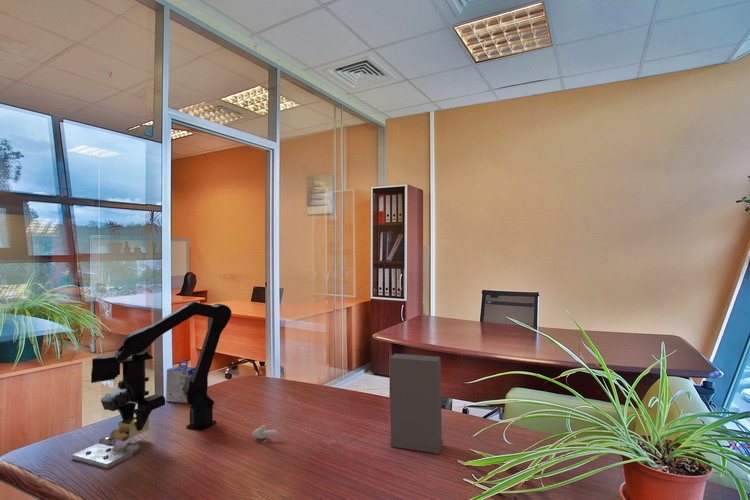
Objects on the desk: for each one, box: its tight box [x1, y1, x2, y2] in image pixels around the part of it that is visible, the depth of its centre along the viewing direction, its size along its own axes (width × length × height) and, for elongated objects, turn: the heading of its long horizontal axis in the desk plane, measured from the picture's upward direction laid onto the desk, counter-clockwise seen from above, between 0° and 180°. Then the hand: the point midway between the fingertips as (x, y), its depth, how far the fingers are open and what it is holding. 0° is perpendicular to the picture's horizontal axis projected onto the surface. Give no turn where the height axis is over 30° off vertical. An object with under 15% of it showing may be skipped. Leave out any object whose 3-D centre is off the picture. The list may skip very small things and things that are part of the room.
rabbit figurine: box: [250, 424, 280, 443], centre depth 112 cm, size 6×4×8 cm
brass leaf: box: [109, 414, 150, 442], centre depth 111 cm, size 4×8×4 cm, turn 159°
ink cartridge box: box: [165, 360, 196, 404], centre depth 146 cm, size 10×6×14 cm, turn 78°
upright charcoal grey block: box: [389, 353, 444, 455], centre depth 108 cm, size 14×6×25 cm, turn 71°
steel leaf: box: [71, 436, 142, 470], centre depth 104 cm, size 14×9×2 cm
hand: (134, 429), depth 112 cm, fingers closed on brass leaf, 4 cm apart
